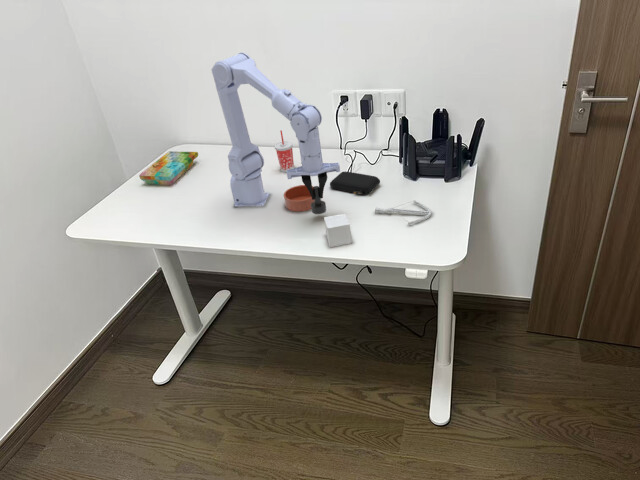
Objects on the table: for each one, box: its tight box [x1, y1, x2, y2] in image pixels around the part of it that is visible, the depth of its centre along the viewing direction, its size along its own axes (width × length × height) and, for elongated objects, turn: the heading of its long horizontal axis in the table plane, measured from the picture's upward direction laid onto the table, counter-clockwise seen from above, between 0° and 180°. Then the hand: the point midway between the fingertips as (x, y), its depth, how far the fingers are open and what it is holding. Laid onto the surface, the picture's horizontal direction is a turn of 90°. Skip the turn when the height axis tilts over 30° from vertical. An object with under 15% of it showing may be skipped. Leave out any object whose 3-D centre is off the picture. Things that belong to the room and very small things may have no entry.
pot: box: [283, 184, 314, 213], centre depth 164 cm, size 10×10×4 cm
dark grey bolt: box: [311, 185, 327, 215], centre depth 154 cm, size 4×4×8 cm
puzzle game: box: [139, 150, 199, 186], centre depth 191 cm, size 12×5×20 cm
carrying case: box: [329, 171, 381, 196], centre depth 171 cm, size 11×3×15 cm
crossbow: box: [374, 199, 432, 226], centre depth 156 cm, size 16×13×2 cm
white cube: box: [323, 213, 353, 248], centre depth 146 cm, size 6×6×6 cm
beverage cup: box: [273, 130, 295, 173], centre depth 183 cm, size 6×6×14 cm
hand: (317, 197), depth 153 cm, fingers closed on dark grey bolt, 2 cm apart
